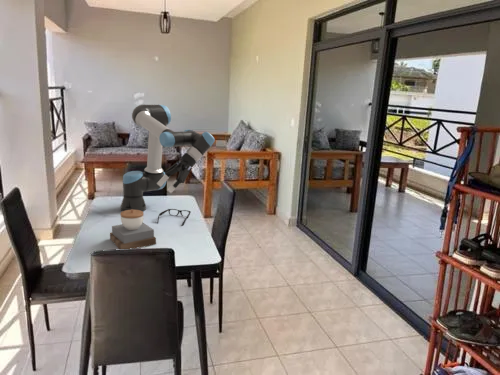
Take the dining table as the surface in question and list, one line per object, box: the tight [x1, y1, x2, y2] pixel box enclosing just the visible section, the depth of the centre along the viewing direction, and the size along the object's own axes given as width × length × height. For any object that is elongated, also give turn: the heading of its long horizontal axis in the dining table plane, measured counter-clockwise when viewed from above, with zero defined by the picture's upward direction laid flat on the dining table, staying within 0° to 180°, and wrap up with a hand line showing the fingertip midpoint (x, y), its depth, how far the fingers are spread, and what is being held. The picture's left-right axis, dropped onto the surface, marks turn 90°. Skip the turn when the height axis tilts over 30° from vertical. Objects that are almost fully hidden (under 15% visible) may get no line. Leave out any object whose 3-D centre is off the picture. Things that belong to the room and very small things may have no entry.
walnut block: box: [109, 231, 157, 250], centre depth 192 cm, size 17×17×4 cm
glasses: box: [157, 208, 192, 227], centre depth 227 cm, size 17×18×5 cm
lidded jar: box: [119, 209, 144, 230], centre depth 189 cm, size 11×11×9 cm
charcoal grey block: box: [111, 221, 155, 244], centre depth 191 cm, size 15×15×4 cm
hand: (163, 188), depth 196 cm, fingers open, 13 cm apart
